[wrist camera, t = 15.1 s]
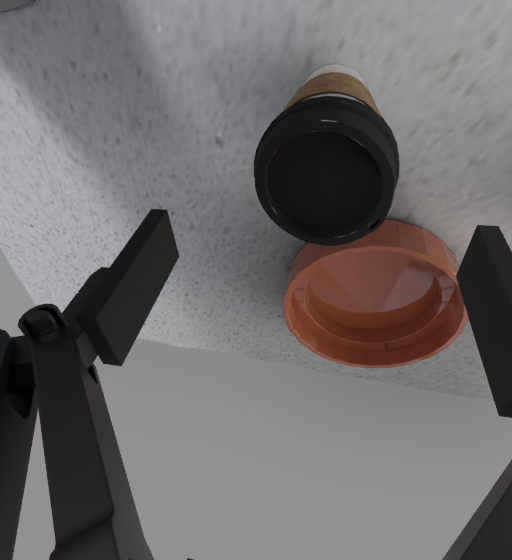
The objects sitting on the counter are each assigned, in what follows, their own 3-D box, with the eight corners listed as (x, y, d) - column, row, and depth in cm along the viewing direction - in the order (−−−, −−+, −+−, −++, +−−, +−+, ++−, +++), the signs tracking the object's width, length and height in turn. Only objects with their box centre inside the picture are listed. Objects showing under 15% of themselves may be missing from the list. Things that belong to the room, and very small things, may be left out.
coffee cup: (342, 168, 34) (338, 273, 24) (265, 120, 33) (223, 209, 22) (408, 84, 29) (441, 172, 18) (318, 21, 27) (297, 75, 16)
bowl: (288, 328, 52) (284, 357, 48) (288, 211, 39) (282, 239, 35) (433, 344, 48) (440, 377, 45) (486, 221, 35) (501, 253, 32)
